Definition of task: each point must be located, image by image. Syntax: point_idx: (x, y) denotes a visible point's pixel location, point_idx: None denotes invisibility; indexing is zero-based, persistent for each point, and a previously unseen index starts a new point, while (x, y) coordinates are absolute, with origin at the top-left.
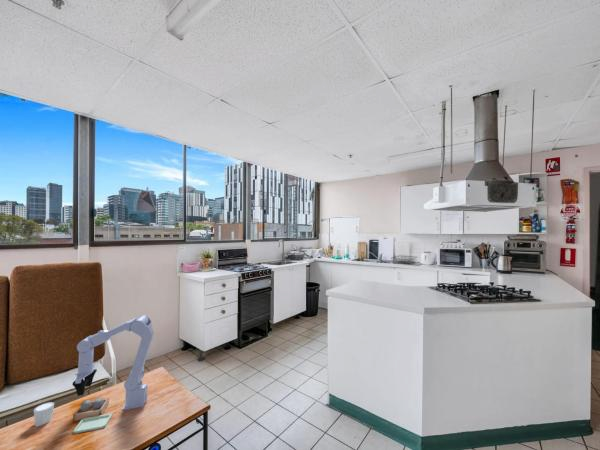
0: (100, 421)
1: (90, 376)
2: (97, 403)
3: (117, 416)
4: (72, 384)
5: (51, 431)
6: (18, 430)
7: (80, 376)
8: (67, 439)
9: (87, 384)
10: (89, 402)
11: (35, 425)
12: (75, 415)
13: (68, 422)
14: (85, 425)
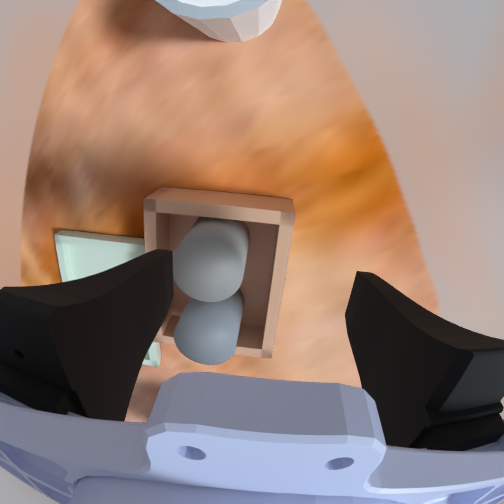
0: None
1: (377, 401)
2: (175, 338)
3: (152, 373)
4: (3, 287)
5: (110, 105)
6: None
7: (14, 467)
8: (41, 220)
9: (359, 301)
10: (198, 293)
11: None
12: (147, 210)
13: (165, 162)
14: (104, 269)
